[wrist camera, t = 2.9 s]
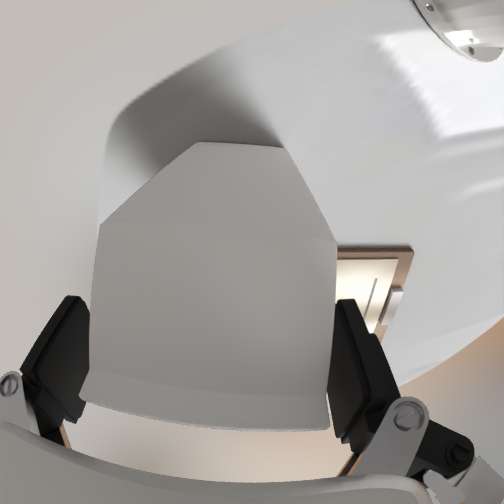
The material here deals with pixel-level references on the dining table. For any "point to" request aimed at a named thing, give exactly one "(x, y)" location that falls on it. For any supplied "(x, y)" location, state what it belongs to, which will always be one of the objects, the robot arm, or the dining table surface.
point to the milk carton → (216, 296)
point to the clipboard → (373, 283)
